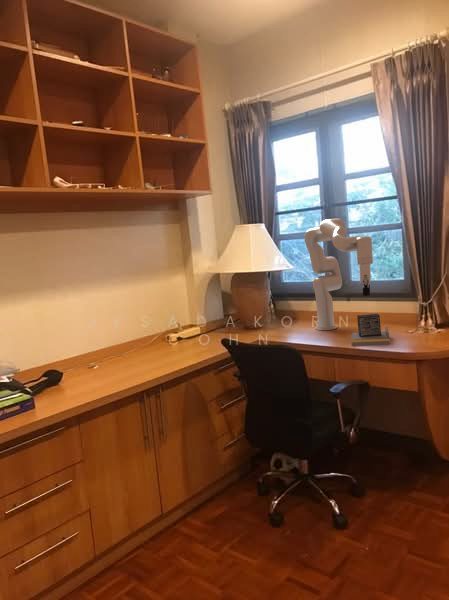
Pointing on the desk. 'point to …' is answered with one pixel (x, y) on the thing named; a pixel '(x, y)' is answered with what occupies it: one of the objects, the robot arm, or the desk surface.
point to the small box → (369, 325)
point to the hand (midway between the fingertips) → (366, 294)
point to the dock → (371, 339)
